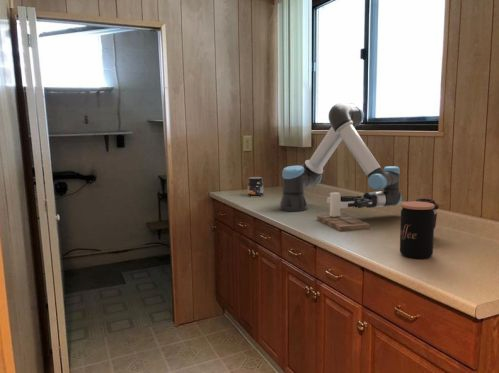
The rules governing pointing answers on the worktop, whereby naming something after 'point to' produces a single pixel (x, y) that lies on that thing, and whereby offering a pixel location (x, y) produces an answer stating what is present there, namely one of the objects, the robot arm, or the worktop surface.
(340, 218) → the board
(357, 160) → the robot arm
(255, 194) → the supplement container
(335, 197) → the fader tab
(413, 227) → the coffee jar
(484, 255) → the worktop surface
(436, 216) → the coffee cup
